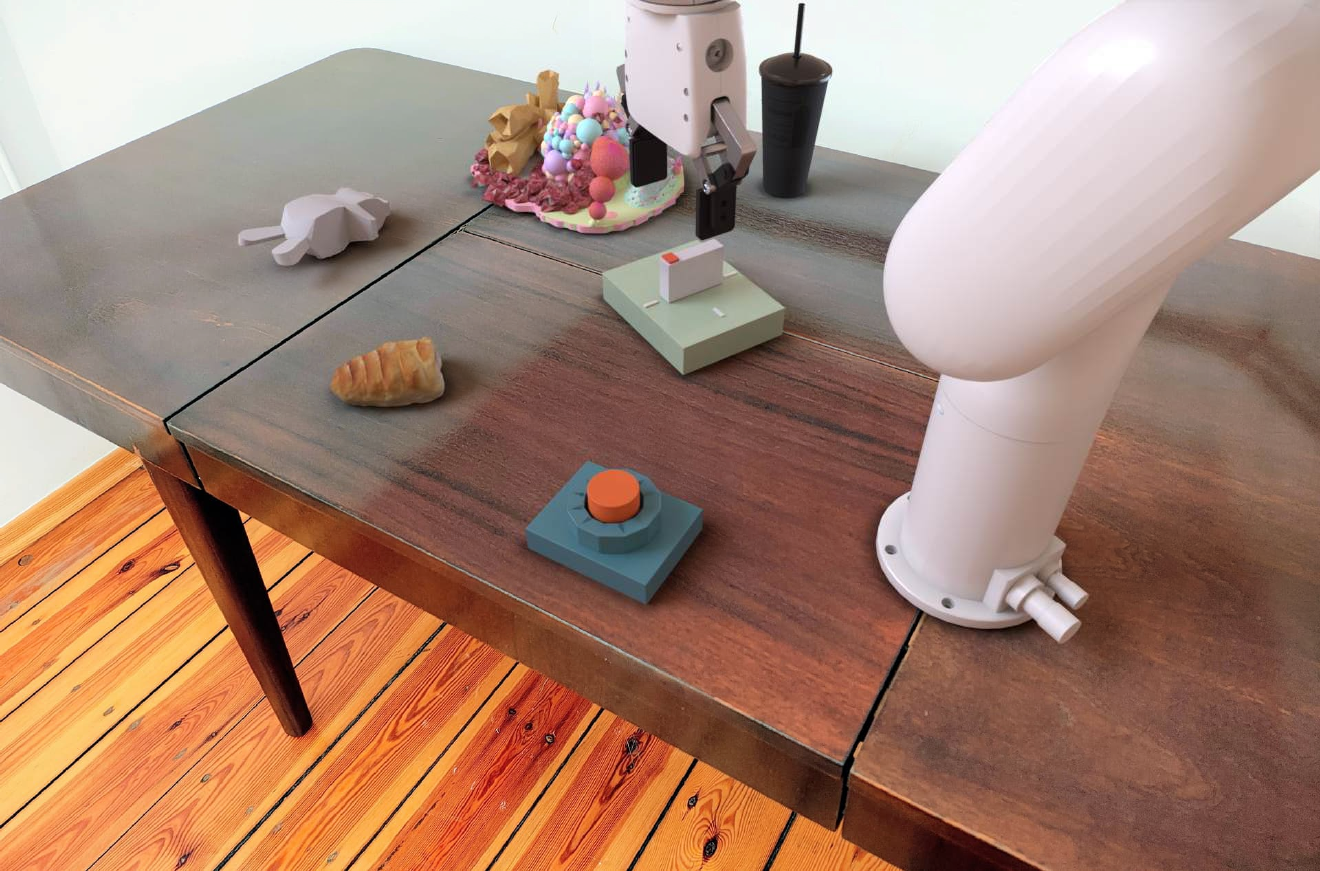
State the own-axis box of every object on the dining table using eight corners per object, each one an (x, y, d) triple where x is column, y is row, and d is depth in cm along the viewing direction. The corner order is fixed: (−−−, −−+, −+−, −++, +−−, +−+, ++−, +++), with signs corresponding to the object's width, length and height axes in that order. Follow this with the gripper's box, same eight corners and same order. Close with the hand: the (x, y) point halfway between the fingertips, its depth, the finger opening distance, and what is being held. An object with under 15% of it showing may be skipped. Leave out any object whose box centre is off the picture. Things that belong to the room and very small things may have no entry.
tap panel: (782, 334, 86) (785, 306, 84) (683, 375, 82) (683, 346, 79) (697, 265, 95) (697, 237, 92) (603, 298, 90) (601, 271, 88)
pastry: (337, 423, 77) (326, 387, 75) (332, 375, 82) (321, 340, 79) (451, 400, 79) (443, 364, 77) (439, 354, 84) (432, 319, 81)
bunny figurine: (405, 194, 97) (285, 241, 87) (410, 239, 100) (294, 289, 90) (344, 170, 101) (222, 212, 91) (351, 214, 104) (233, 259, 94)
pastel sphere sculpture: (434, 198, 105) (419, 119, 98) (541, 117, 120) (535, 44, 114) (633, 248, 97) (630, 166, 91) (720, 155, 112) (723, 78, 106)
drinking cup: (829, 182, 107) (853, -1, 94) (799, 210, 102) (820, 22, 89) (770, 166, 110) (784, -14, 97) (738, 192, 106) (749, 8, 92)
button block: (702, 529, 68) (704, 491, 66) (646, 605, 63) (645, 568, 61) (589, 480, 72) (586, 442, 69) (527, 548, 67) (522, 511, 64)
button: (649, 498, 66) (649, 480, 65) (622, 531, 64) (621, 514, 62) (606, 479, 67) (605, 462, 66) (578, 511, 65) (576, 494, 64)
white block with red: (712, 275, 88) (714, 235, 85) (722, 283, 87) (724, 243, 84) (659, 295, 85) (658, 255, 82) (668, 303, 84) (668, 263, 81)
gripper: (806, -2, 57) (785, 242, 69) (662, -66, 69) (664, 154, 80) (704, 21, 55) (700, 271, 66) (571, -49, 66) (587, 176, 77)
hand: (680, 207), depth 73 cm, fingers open, 9 cm apart
